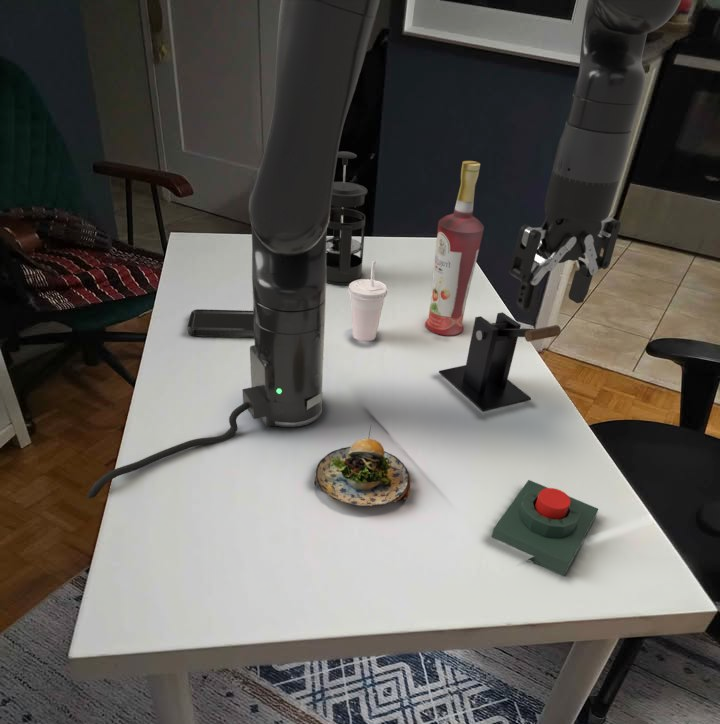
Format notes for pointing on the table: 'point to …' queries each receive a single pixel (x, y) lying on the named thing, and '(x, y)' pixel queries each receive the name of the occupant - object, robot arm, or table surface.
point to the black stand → (488, 367)
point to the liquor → (455, 258)
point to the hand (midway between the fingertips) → (550, 305)
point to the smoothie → (366, 306)
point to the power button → (552, 503)
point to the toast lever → (526, 332)
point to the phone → (221, 323)
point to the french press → (345, 231)
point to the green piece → (544, 529)
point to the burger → (363, 475)
